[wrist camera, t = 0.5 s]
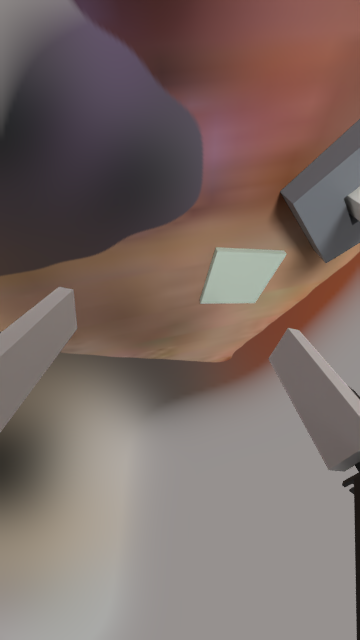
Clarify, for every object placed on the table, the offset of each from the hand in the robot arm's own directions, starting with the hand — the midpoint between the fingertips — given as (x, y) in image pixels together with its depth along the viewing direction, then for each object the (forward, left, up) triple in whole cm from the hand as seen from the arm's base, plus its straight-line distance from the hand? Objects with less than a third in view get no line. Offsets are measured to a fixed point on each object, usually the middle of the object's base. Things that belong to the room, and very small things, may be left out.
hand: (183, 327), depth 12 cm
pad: (+13, +15, -19) cm, 27 cm away
